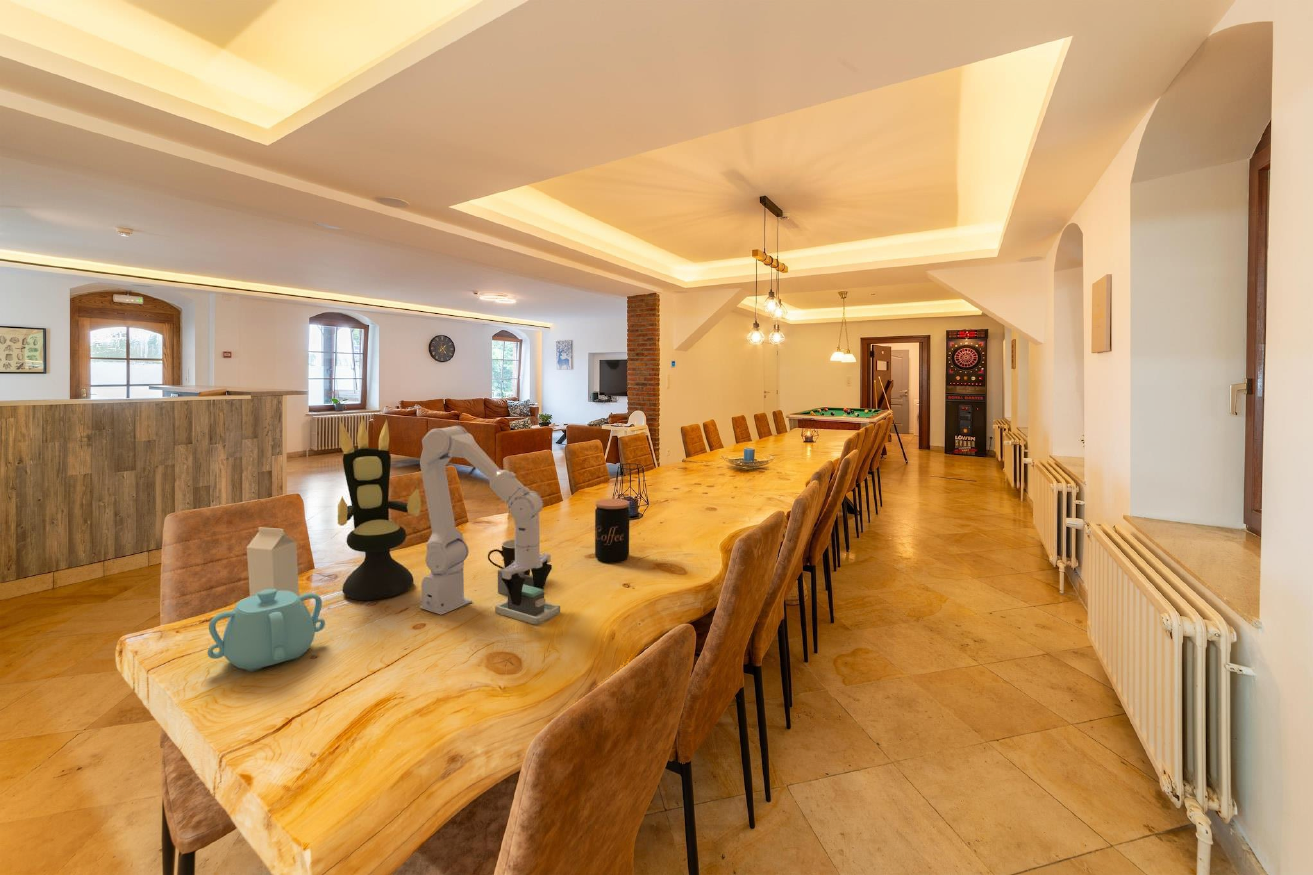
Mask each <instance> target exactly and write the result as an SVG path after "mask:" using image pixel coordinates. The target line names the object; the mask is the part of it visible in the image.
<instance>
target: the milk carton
mask: <svg viewBox="0 0 1313 875" xmlns="http://www.w3.org/2000/svg"><path fill="white" fill-rule="evenodd" d="M297 550H298V548H297V541H296V540H295V539H293V538H292V537H291V536H288V535H287V534H286V533H285V529H284V528H274V527H261V526H259V527H258V532H257V533H256V535H255V536H254V537H253V539H251V541H250V543H249V544H248V545H247V546H246V553H247V554H246V557H247V572H248V583H249V584H248V586H249V589H248V590H249V597H251V596H254V595H255V594H256V593H258V592H260V591H262V590H266V589H276V590H277V591H283V590H284V591H291V592H293V593H295V594H296V595H297V596H298V597H299V596H300V588H299V586H300V585H299V568H298V552H297Z"/></svg>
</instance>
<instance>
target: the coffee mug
mask: <svg viewBox="0 0 1313 875" xmlns="http://www.w3.org/2000/svg"><path fill="white" fill-rule="evenodd" d="M494 552H498V553H499V554H500V555H501V557H502V558H503V565H504V566H501V565H499V564H498V563H495V562H494V561H493V560H491V558H490V556H491V554H492V553H494ZM487 559H488V561H489V563H490V564H492V565H493V566H495V567H497V568H499V569H500V570H501V569H503V568H506V567H508V566H509V565H511V564H512V563H513V562H515V538H513V539H508V540H505V541H503V542H502V543H501V550H500V549H497V548H494V549H491V550H490V551H489V552H488V553H487ZM530 574H531V569H529V570H527V571H524V575H529V576H531V575H530Z"/></svg>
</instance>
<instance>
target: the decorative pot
mask: <svg viewBox="0 0 1313 875" xmlns="http://www.w3.org/2000/svg"><path fill="white" fill-rule="evenodd" d="M308 599H314V600H315V606H314V610H313V613H312V615H311V613H310V611H309V609H308V608H307V606H306V605H305V603H304V602H303V601H305V600H308ZM322 604H323V601H322V598H321V596H319V595H318V594H317V593H313V592H305V593H302V594H299V597H298V596H297V595H296V594H295V593H293V592H291V591H284V590H283V591H277V590H276V589H266V590H262V591H260V592H258V593H256V594H255V595H254V596H251V597H250V596H249V597H244V598H243V599H241V600H239V601H238V602H237V603H236V605H235V606H234V608H233V610H227V611H226V610H225V611H222V612H219V613H218V614H216V615H215V616H214V617H213V618H211V620H210V621H209V623H208V630H209V634H210V635H211V636H210V637H211V638H212V639H213V641H214V643H215V644H212V645H210V647H209V648H208V650H207V656H208V658H210V659H220V658H222V657H224V658H225V659H226V660H227V661H228V662H229V663H231V664H232V665H233V666H235V667H237V668H238V669H240V670H241V669H242V670H246V671H247V670H248V671H247V672H255V671H254V670H256V671H259V670H261V669H262V668H265V667H269V666H270V667H271V666H273V665H277V664H280V663H284V662H287V661H292V660H296V659H299V658H301V656H302V655H304V654H305V653H306V652H307V651H308V649H309V648H310V647H311V645H312V643H313V641H314V638H315V634H316V633H318V632H321V631H322V630H323V629H324V628H325V626H326V622H325V621H326V620H325V619H324V618H321V617H319V616H320V614H321V611H322V606H323V605H322ZM226 618H229V619H228V620H227V624H226V626H225V629H224V632H223V637H222V638H221V635H220V634H219V633H218V631H217V627H216V625H217V623H218V622H219V621H221V620H222V619H226ZM317 623H319V624H318V625H317ZM215 649H219V651H218V652H214V650H215Z"/></svg>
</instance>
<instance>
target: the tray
mask: <svg viewBox="0 0 1313 875" xmlns="http://www.w3.org/2000/svg"><path fill="white" fill-rule="evenodd" d="M494 609H495V610H494V612H495V614H498V615H500V616H504V617H508V618H511V619H515V620H518V621H522V622H524V623H528V624H531V625H534V626H538V625H539V626H540V625H541V624H543V623H544V622H546V621H548V620H550V619H552V618H554V617H555V616H558V615H559V614H560V613H561V606H560V605H557V604H552V603H549V602H546V601H545V604H544V612H542V613H540V614H538V615H536V616H531V615H528V614H524V613H521V612H518V611H514V610H511V609H508V600H506V601H504V602H502V603H499V604H497V605H495V607H494ZM558 613H559V614H558Z"/></svg>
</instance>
